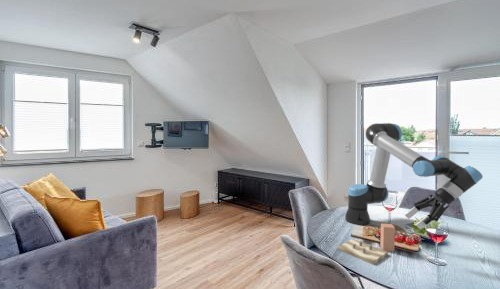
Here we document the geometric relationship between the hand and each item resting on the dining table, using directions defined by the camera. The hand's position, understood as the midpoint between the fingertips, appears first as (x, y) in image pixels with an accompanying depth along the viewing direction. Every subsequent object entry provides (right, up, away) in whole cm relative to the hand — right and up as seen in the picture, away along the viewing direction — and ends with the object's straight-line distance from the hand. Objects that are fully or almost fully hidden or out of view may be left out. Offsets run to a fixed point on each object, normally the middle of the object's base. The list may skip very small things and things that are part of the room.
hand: (411, 221), depth 123 cm
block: (-10, -15, +3) cm, 18 cm away
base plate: (-24, -15, 0) cm, 28 cm away
